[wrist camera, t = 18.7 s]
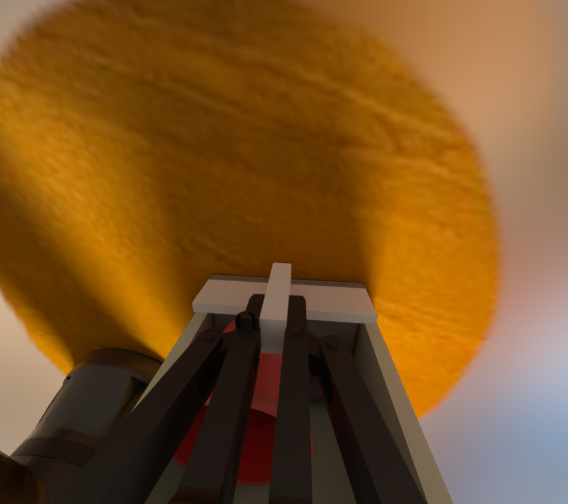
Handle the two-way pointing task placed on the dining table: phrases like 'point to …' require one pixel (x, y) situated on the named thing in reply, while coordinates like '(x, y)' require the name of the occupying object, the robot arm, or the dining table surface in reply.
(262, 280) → the tray
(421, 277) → the dining table surface
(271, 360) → the flower pot
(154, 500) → the beige open box
